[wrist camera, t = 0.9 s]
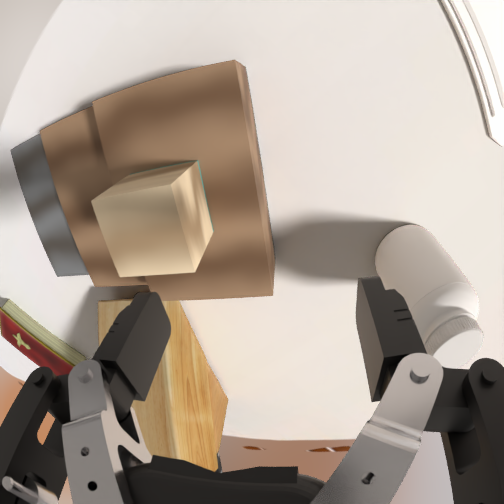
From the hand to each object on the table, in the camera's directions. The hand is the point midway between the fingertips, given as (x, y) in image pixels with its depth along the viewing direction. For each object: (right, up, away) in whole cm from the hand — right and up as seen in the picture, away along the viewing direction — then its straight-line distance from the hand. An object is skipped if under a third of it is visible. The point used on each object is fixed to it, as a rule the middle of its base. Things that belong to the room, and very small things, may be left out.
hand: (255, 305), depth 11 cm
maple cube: (-7, +6, +13) cm, 16 cm away
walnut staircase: (-15, +8, +20) cm, 26 cm away
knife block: (-11, -17, +35) cm, 40 cm away
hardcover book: (-43, -16, +38) cm, 60 cm away
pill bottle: (+17, +2, +20) cm, 27 cm away
